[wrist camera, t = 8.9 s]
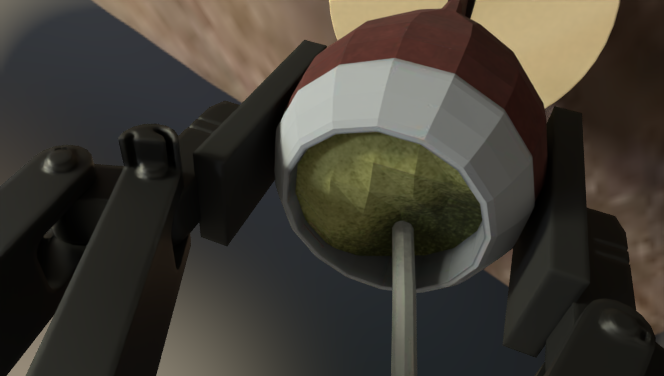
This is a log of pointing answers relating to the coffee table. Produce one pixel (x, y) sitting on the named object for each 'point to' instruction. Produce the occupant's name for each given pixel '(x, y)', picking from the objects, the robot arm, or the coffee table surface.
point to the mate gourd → (412, 156)
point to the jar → (517, 32)
